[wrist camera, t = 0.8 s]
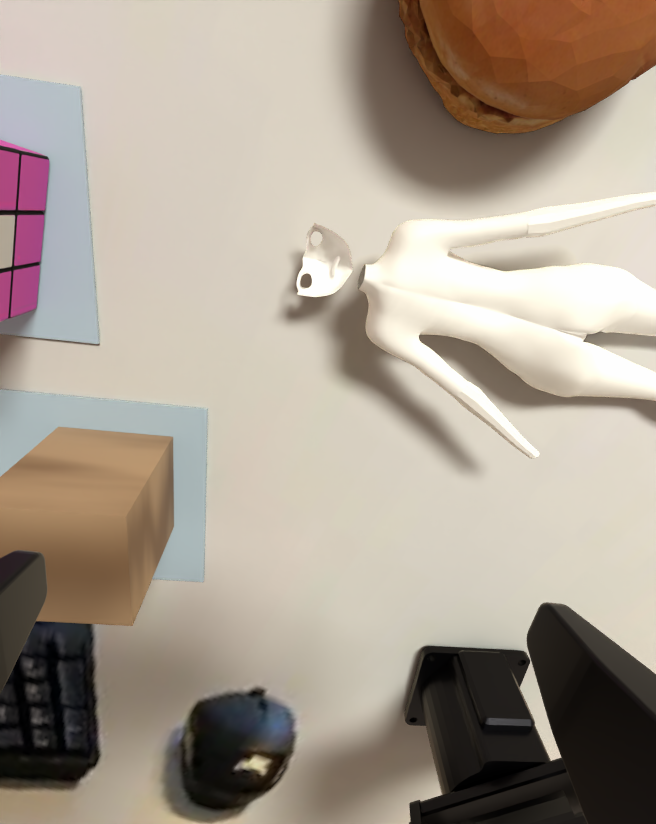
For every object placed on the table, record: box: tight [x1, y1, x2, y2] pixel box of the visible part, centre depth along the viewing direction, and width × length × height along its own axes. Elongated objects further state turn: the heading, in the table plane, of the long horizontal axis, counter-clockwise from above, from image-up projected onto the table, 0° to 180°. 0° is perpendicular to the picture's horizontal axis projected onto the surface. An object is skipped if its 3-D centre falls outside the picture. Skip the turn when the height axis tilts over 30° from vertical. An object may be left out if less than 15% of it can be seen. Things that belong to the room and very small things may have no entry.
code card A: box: [0, 389, 208, 582], centre depth 22 cm, size 10×10×1 cm
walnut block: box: [0, 427, 174, 626], centre depth 19 cm, size 5×5×6 cm
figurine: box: [297, 192, 656, 459], centre depth 19 cm, size 10×4×25 cm
